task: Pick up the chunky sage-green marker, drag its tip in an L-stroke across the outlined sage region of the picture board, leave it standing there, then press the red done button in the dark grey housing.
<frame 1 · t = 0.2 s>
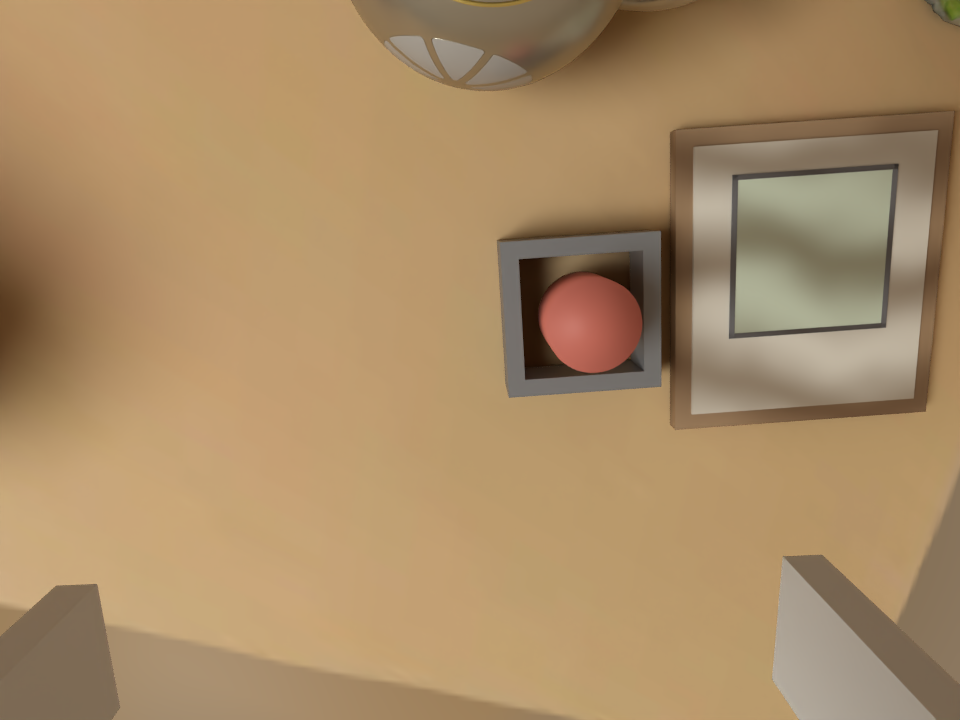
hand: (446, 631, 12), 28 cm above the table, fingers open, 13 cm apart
button housing: (573, 309, 39), on the table
done button: (587, 320, 34), point 4 cm above the table, slide at 0.0 cm
picture board: (799, 277, 39), on the table
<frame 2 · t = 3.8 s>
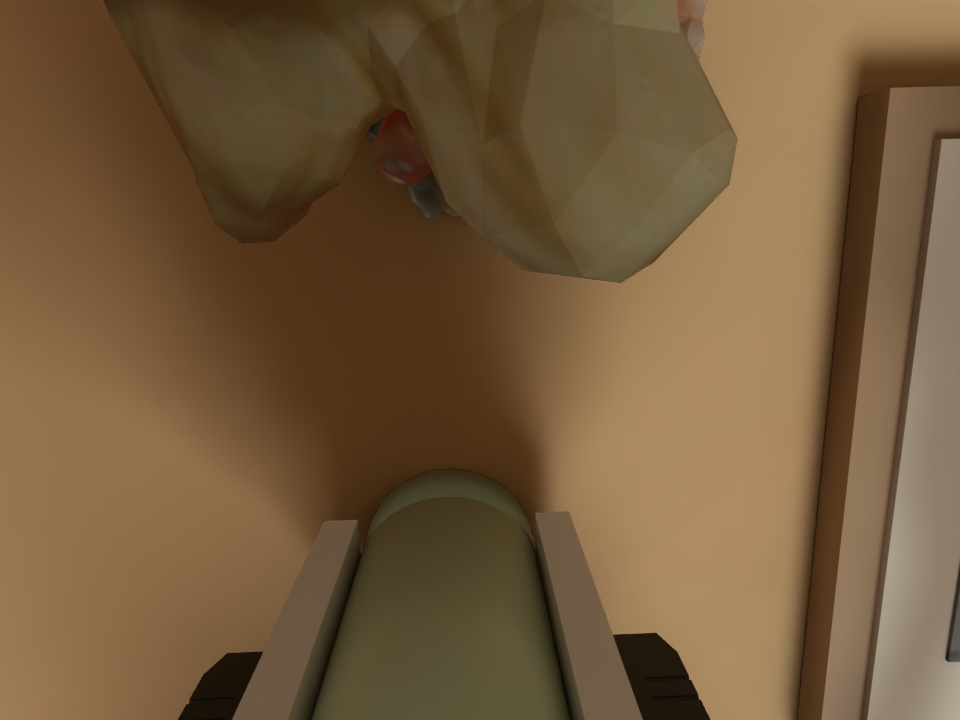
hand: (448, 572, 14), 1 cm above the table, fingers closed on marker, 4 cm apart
marker: (450, 545, 15), on the table, touching gripper
figurine: (475, 5, 13), on the table
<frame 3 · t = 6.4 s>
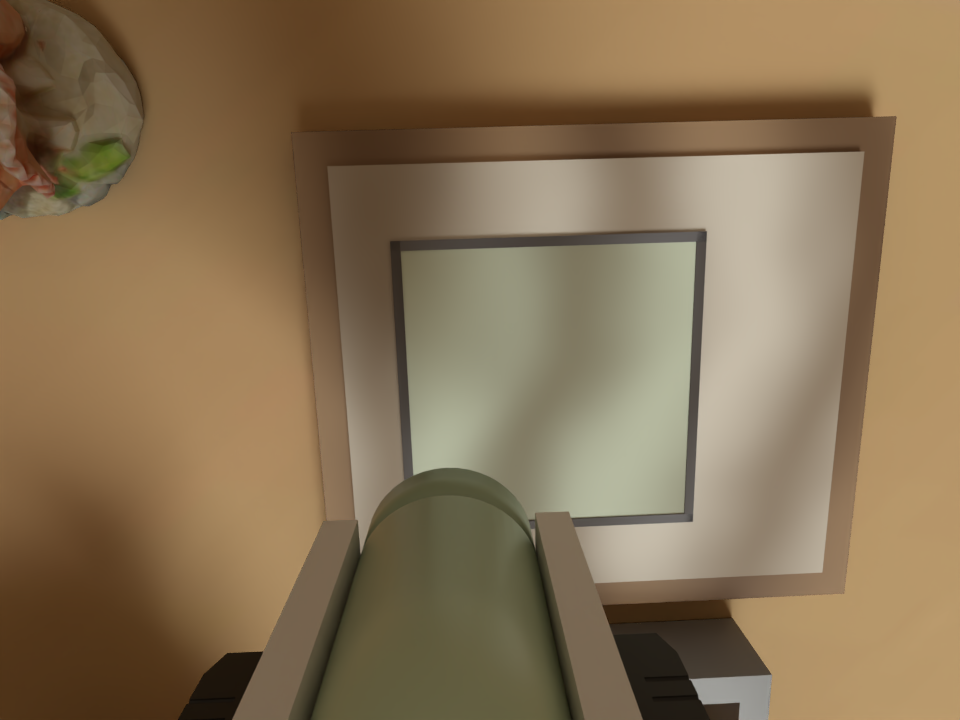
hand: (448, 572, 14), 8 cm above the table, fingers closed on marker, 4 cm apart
marker: (450, 544, 15), point 7 cm above the table, touching gripper
figurine: (26, 74, 19), on the table
picture board: (588, 378, 21), on the table
when the fingers open (3 cm above the table, at t = 9.2 s): marker stays where it is, resting on picture board.
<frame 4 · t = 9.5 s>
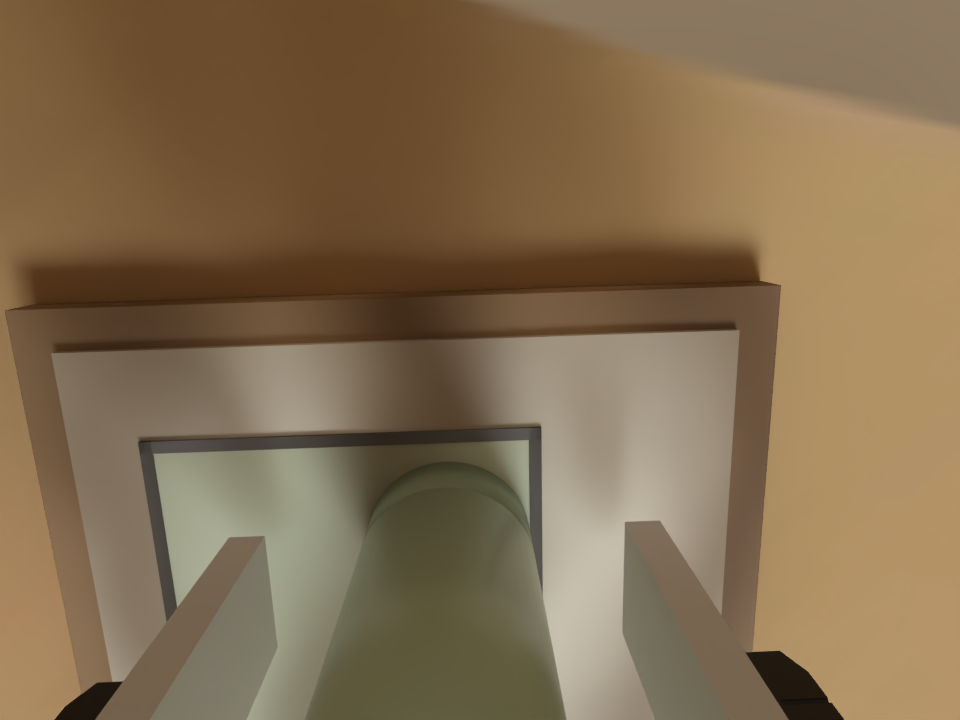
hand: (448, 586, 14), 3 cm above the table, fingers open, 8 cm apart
marker: (449, 537, 16), point 1 cm above the table, touching picture board
picture board: (417, 581, 17), on the table
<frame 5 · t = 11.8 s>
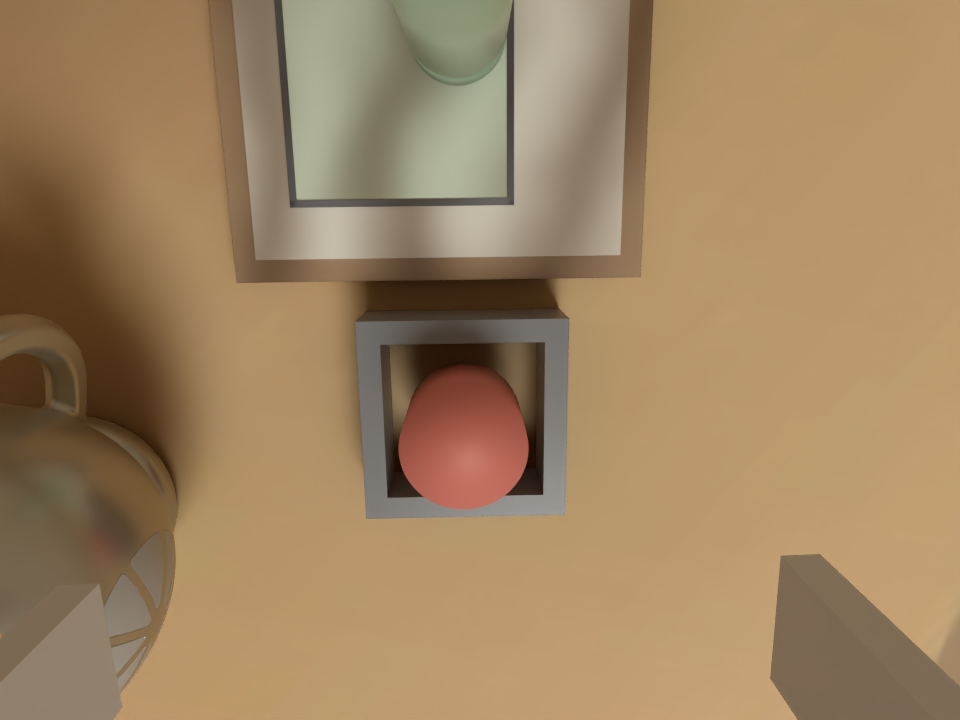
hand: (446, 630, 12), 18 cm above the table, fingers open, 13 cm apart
marker: (457, 32, 25), point 1 cm above the table, touching picture board
button housing: (464, 402, 30), on the table
teapot: (100, 465, 31), on the table
done button: (464, 432, 26), point 4 cm above the table, slide at 0.0 cm
picture board: (435, 92, 27), on the table
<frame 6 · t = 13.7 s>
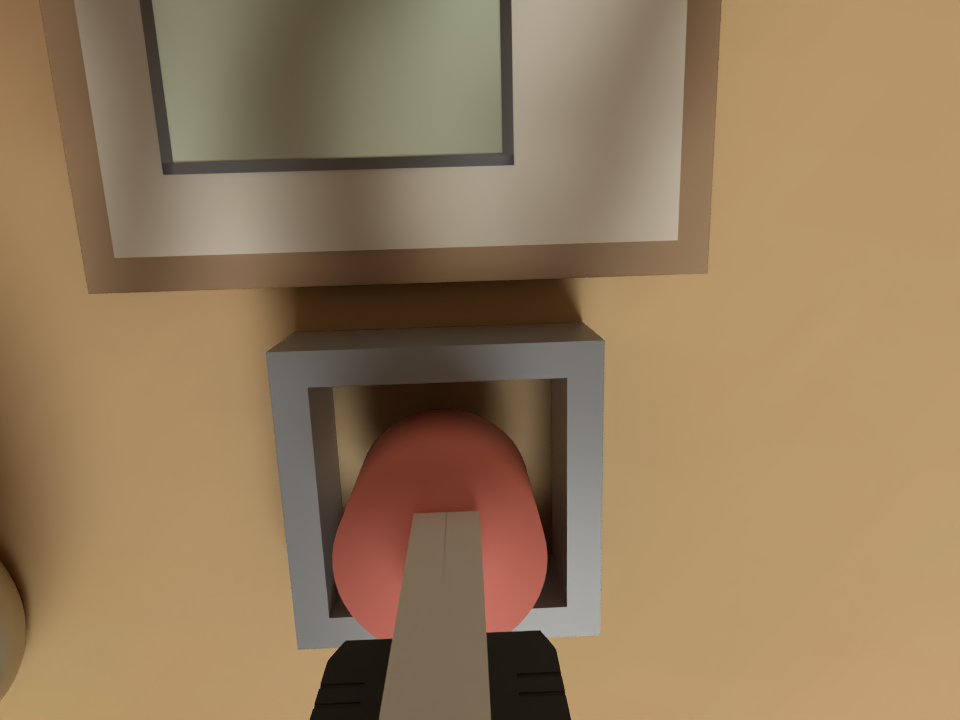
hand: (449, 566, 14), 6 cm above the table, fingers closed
button housing: (445, 462, 21), on the table
done button: (442, 522, 16), point 4 cm above the table, slide at 0.2 cm, touching gripper
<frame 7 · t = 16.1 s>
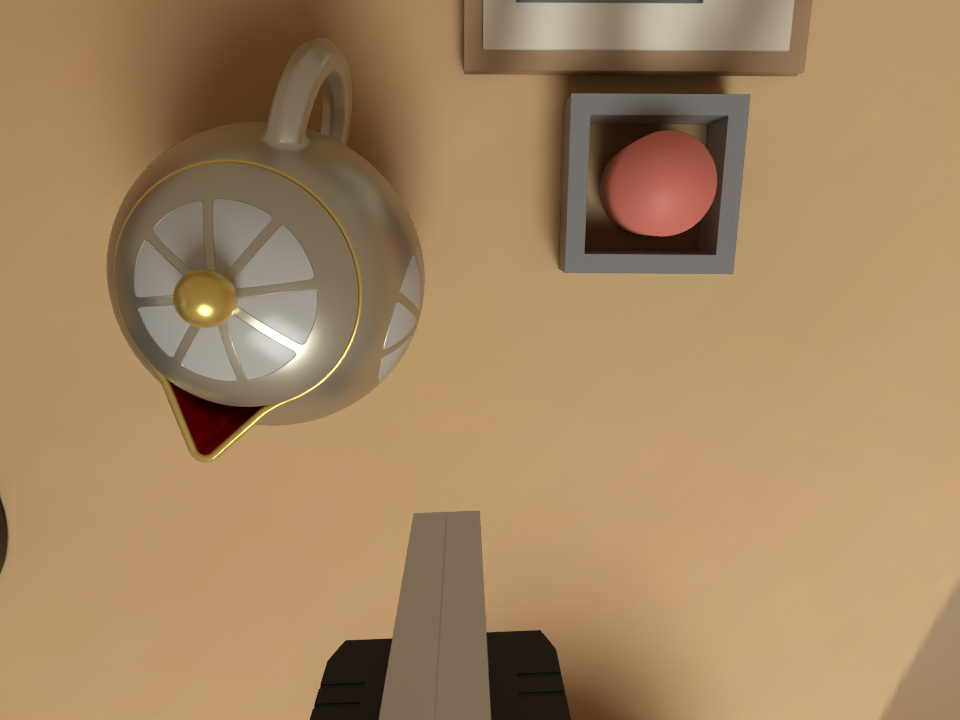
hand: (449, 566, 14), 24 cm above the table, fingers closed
button housing: (640, 189, 35), on the table
teapot: (327, 240, 36), on the table
done button: (654, 186, 32), point 3 cm above the table, slide at 1.3 cm
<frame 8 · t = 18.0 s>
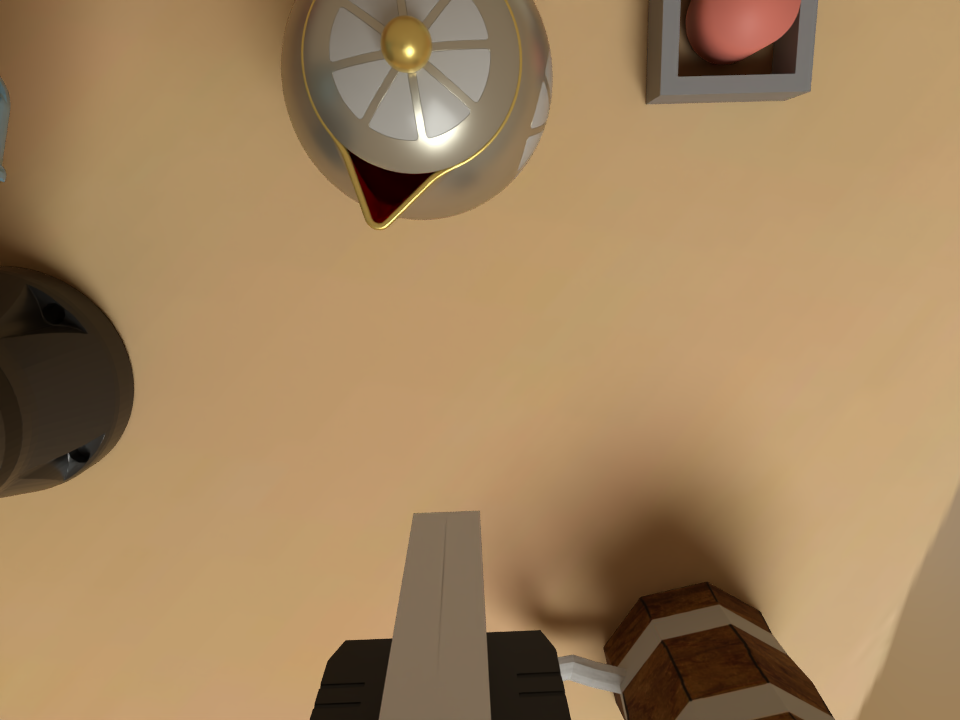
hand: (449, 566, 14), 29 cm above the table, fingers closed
button housing: (719, 25, 39), on the table
teapot: (433, 85, 40), on the table
done button: (740, 10, 36), point 3 cm above the table, slide at 1.3 cm
mug: (648, 651, 49), on the table
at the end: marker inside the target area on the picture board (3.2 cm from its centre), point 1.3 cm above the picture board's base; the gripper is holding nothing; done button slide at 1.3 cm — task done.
